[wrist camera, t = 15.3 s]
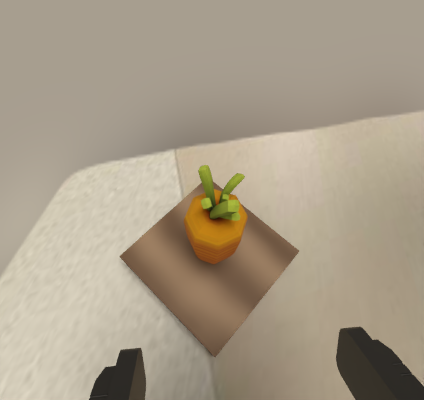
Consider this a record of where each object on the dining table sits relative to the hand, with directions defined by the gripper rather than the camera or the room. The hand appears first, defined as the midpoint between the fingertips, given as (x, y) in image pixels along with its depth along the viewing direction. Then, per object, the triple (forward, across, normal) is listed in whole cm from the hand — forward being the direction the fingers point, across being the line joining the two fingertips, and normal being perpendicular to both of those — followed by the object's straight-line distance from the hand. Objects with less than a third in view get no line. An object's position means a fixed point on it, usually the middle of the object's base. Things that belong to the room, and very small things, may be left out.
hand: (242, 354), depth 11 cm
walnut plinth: (+21, 0, +8) cm, 22 cm away
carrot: (+18, 0, +6) cm, 19 cm away
